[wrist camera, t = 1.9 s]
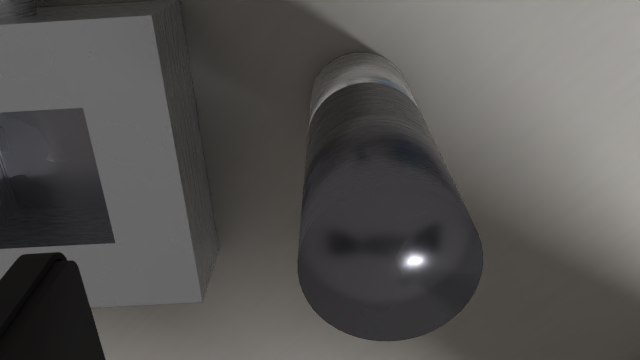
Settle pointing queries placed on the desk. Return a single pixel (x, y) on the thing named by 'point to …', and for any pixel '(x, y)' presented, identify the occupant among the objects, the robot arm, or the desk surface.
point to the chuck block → (104, 149)
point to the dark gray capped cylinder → (380, 209)
